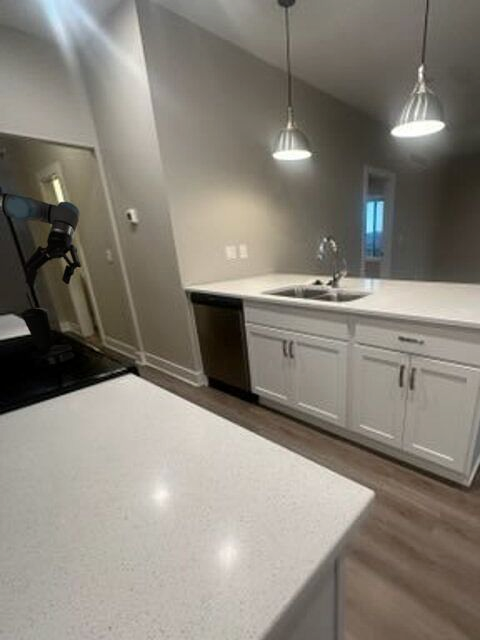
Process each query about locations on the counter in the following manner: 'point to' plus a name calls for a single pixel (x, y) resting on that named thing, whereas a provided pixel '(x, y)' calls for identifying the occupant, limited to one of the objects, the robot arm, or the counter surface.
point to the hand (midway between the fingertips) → (47, 283)
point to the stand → (52, 356)
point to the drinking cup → (38, 325)
